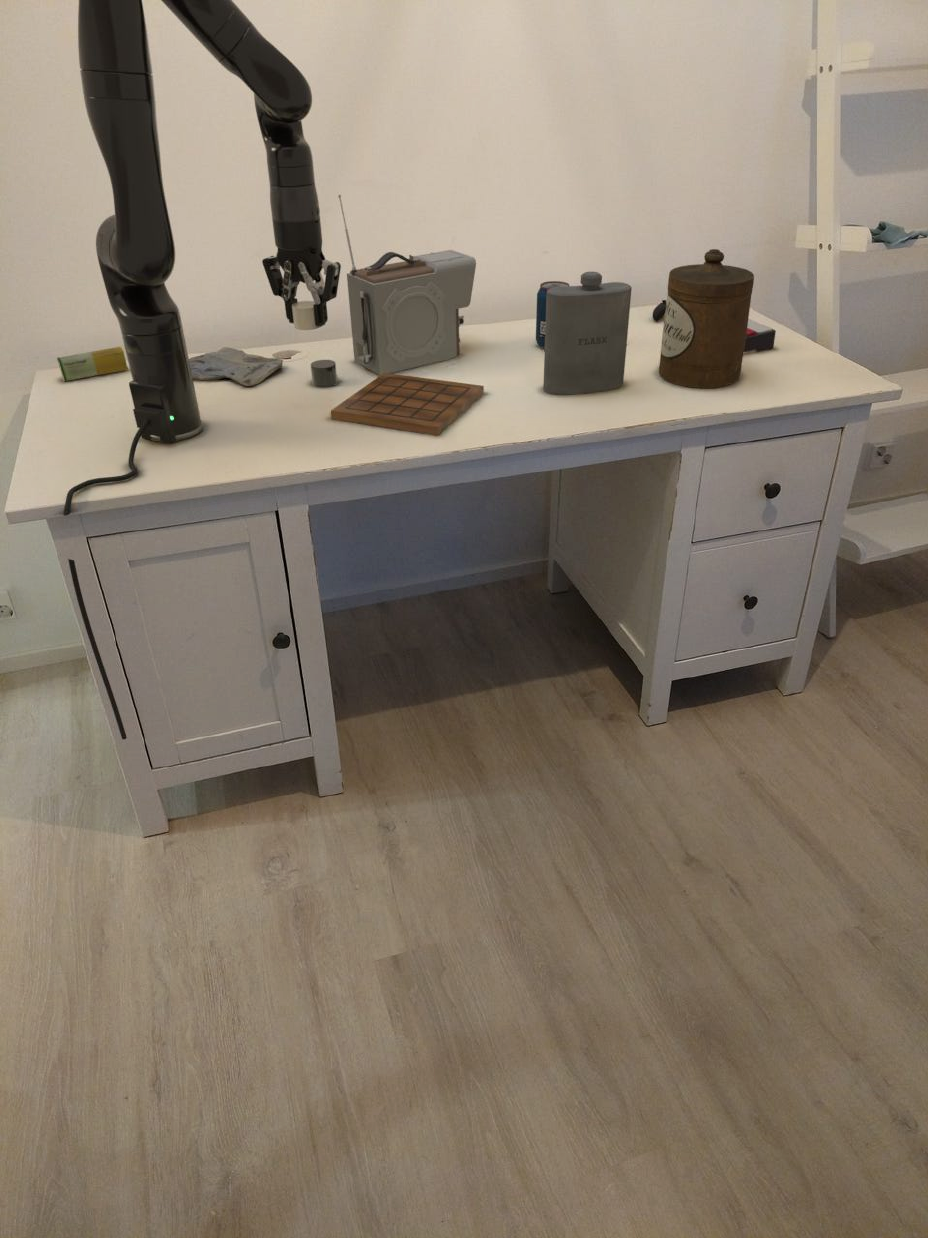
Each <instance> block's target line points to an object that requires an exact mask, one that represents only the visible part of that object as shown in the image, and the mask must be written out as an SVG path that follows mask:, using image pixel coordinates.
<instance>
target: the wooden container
mask: <svg viewBox="0 0 928 1238" xmlns="http://www.w3.org/2000/svg"><path fill="white" fill-rule="evenodd" d="M703 258H704V262H703V263H701V264H698V263H697V264H686V265H681V266H678V267H674V268H672V269H671V270H670V271H669V274H668V280H667V281H668V282H667V295H666V300H667V303H666V311H665V314H664V320H663V326H662V327H663V328H662V333H661V334H662V335H661V345H660V356H659V357H660V358H659V366H658V373H659V376H660V377H661V378H662V379H664V381H667V382H669V383H672V384H675V385H678V386H682V387H688V388H696V389H712V388H722V387H726V386H730V385H732V384H734V383H736V382H738V381H739V379H740V377H741V373H742V365H743V360H744V359H743V358H744V354H745V353H744V348H745V342H746V334H747V326H748V319H749V317H750V309H751V302H752V294H753V289H754V281H755V274H754V272H753V271H750V270H749V269H746V268H744V267H738V266H733V265H727V264H723V263H722V262H723V261H724V259H725V254H724V253H723V252H722V251H721V250H720V249H717V248H712V249H709V250H708V251H706V252H705V253H704V257H703Z"/></svg>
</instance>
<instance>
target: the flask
mask: <svg viewBox="0 0 928 1238" xmlns="http://www.w3.org/2000/svg"><path fill="white" fill-rule="evenodd" d="M602 282H603V275H602V274H601V273H600V272H598V271H585V272H582V274H581V275H580V284H581V285H569V286H559V287H553V288H550V289H548V290H547V297H546V326H545V349H544V359H543V384H542V386H543V390H544V391H545V392H546V393H547V394H551V395H559V396H560V395H561V396H562V395H563V396H564V395H567V396H568V395H583V394H593V393H601V392H608V391H612V390H616V389H620V388H621V387H622V386H623V385H624V379H625V370H626V369H625V367H626V357H627V356H626V355H627V346H628V334H629V332H628V331H629V324H630V323H629V322H630V310H631V300H632V287H633V286H632V285H630V284H628V283H626V282H622V281H621V282H620V281H609V282H603V283H602Z"/></svg>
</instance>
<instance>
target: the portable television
mask: <svg viewBox="0 0 928 1238" xmlns="http://www.w3.org/2000/svg"><path fill="white" fill-rule="evenodd" d="M337 197H338V199H339V203H340V208H341V213H342V218H343V225H344V231H345V237H346V241H347V246H348V251H349V256H350V262H351V265H352V266H351V270H350V272H349V273H348V272H347V273H346V281H347V292H348V302H349V316H350V326H351V337H352V338H351V339H352V349H353V360H354V363H357V364H358V365H360V366H361V367H363V368H365V369H367V370H369V371H371V372H373V373H374V374H376V375H377V376H381V375H382V374H383V373H391V374H395V373H397V372H401V371H406V370H410V369H414V368H418V367H422V366H426V365H431V364H435V363H438V362H442V361H447V360H452V359H455V358H456V357H458V356H460V343H461V338H460V326H461V325H464V324H465V323H464V322H465V321H464V318H465V315H459V314H460V313H459V312H460V311H459V310H461V309H464V308H468V307H469V306H470V304H471V301H472V293H473V287H474V281H475V274H476V268H477V262H476V258H475V257H474V256H471V255H468V254H465V253H462V252H459V251H455V250H452V249H447V250H441V251H437V252H430V253H425V254H418V255H412V254H409V255H408V256H409V257H408V258H407V257H406V256H404V255H402V254H400V253H397V252H394V251H388V252H386V253H384V254H383V255H381V257H380V258H379V259H378V260H377V261H376V262H374V263H373V264H371V265H369V266H366V267H364V268H363V267H362V268H358V269H357V267H356V265H355V261H354V256H353V251H352V246H351V241H350V235H349V230H348V228H347V223H346V217H345V214H344V213H345V212H344V208H343V203H342V199H341V198H342V194H339V193H338V195H337ZM394 258H398V259H400V260H402V261H399V262H392V263H388V262H389V261H391V260H392V259H394Z"/></svg>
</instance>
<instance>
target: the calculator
mask: <svg viewBox="0 0 928 1238" xmlns="http://www.w3.org/2000/svg"><path fill="white" fill-rule="evenodd" d="M776 332H777V331H776V330H775V329H774V328H773V327H770V326H768V325H766V324H762V323H761V322H758V321H755V320H752V319H750V318H748V326H747V334H746V342H745V348H744V354H745V353H748V352H752V351H756V352H758V353H759V352H764V351H767V350H772V349H774V346H775V340H776Z"/></svg>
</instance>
